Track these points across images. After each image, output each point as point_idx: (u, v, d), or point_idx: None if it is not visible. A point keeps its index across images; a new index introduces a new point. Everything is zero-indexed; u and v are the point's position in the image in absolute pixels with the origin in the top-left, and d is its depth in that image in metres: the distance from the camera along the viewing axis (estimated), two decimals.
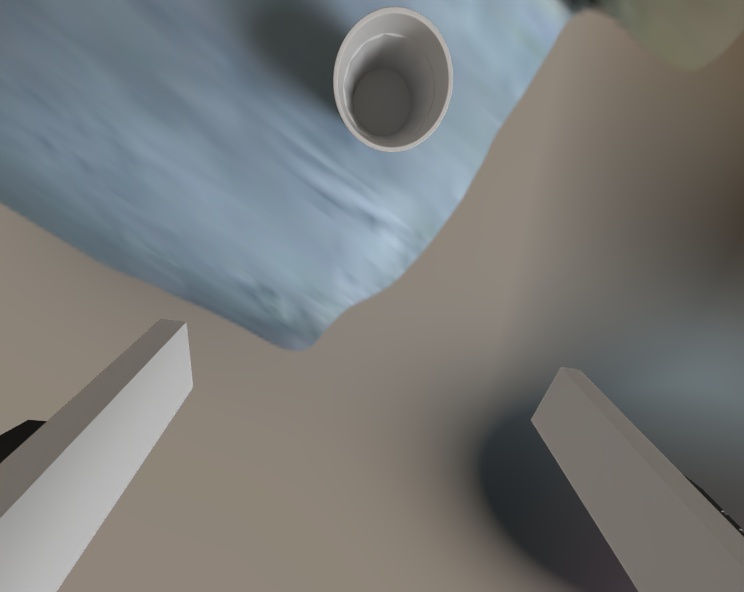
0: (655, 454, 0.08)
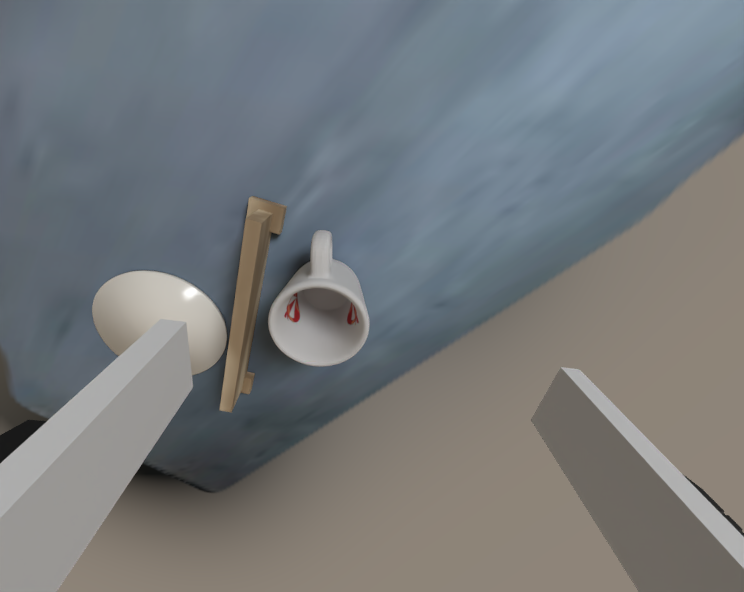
0: (656, 454, 0.08)
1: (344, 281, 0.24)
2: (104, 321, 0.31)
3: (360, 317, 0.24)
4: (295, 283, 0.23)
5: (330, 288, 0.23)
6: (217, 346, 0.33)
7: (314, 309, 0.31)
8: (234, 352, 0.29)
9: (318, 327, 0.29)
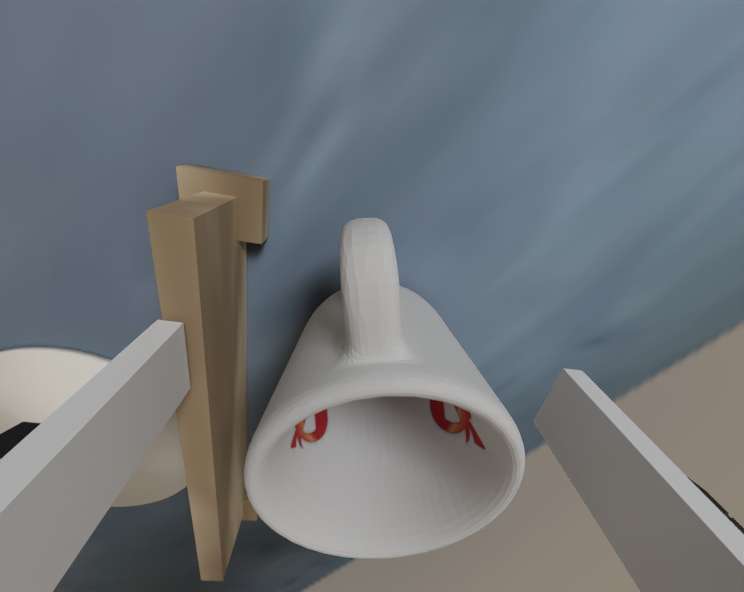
0: (659, 456, 0.08)
1: (444, 355, 0.08)
2: None
3: (499, 448, 0.09)
4: (306, 388, 0.07)
5: (418, 395, 0.07)
6: None
7: None
8: (203, 498, 0.14)
9: (369, 430, 0.14)
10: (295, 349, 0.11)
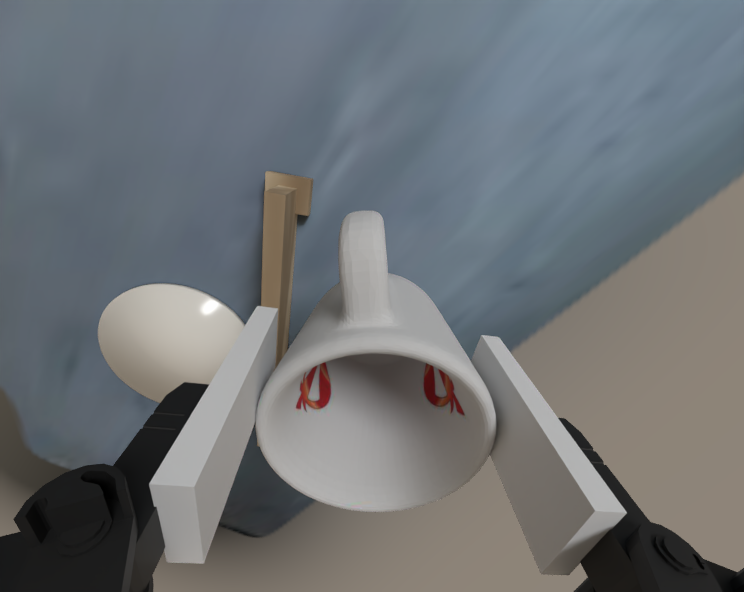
0: (539, 400, 0.09)
1: (426, 326, 0.10)
2: (114, 351, 0.26)
3: (473, 410, 0.10)
4: (308, 345, 0.09)
5: (398, 353, 0.08)
6: None
7: (356, 366, 0.17)
8: None
9: (369, 406, 0.15)
10: (303, 325, 0.13)
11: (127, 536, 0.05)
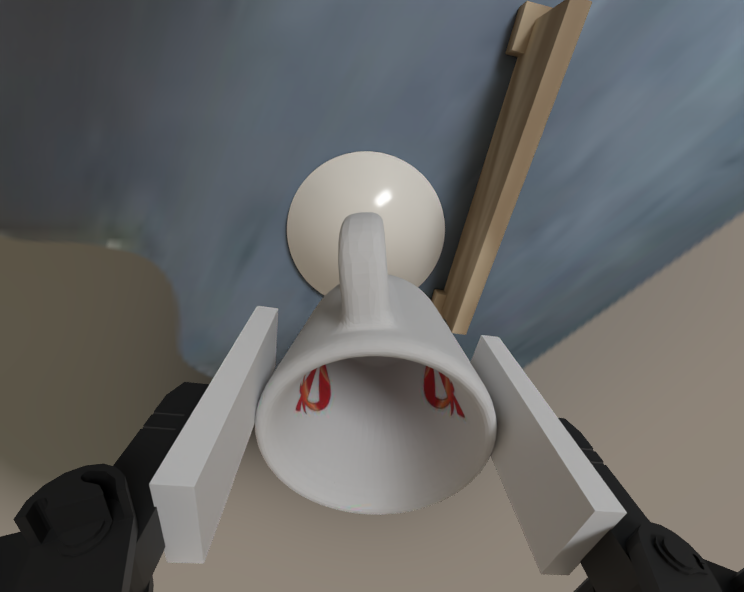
0: (539, 400, 0.09)
1: (426, 328, 0.10)
2: (299, 234, 0.25)
3: (474, 412, 0.10)
4: (307, 348, 0.09)
5: (398, 356, 0.08)
6: (430, 256, 0.26)
7: (356, 367, 0.17)
8: (493, 240, 0.22)
9: (369, 407, 0.15)
10: (303, 327, 0.13)
11: (127, 536, 0.05)
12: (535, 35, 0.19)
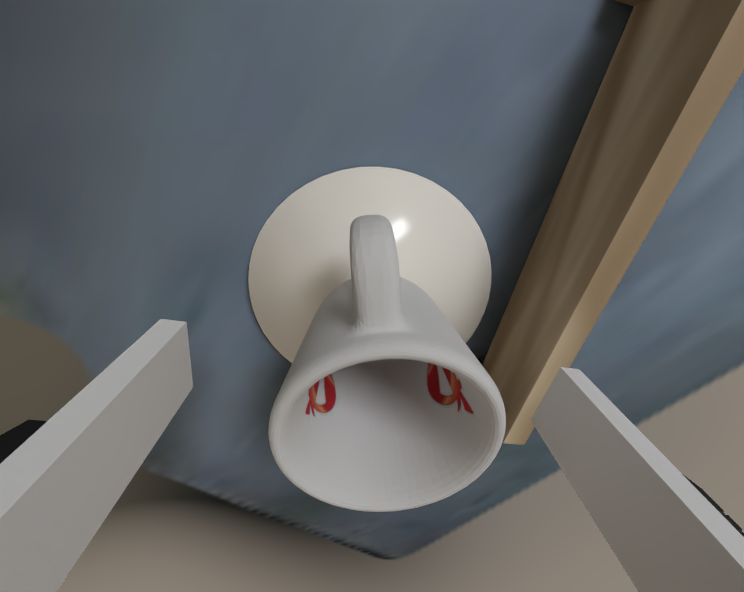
0: (655, 453, 0.08)
1: (437, 329, 0.10)
2: (268, 292, 0.16)
3: (484, 409, 0.10)
4: (322, 353, 0.09)
5: (414, 358, 0.09)
6: (467, 321, 0.18)
7: (358, 367, 0.17)
8: (586, 315, 0.13)
9: (373, 406, 0.15)
10: (308, 330, 0.12)
11: None
12: None
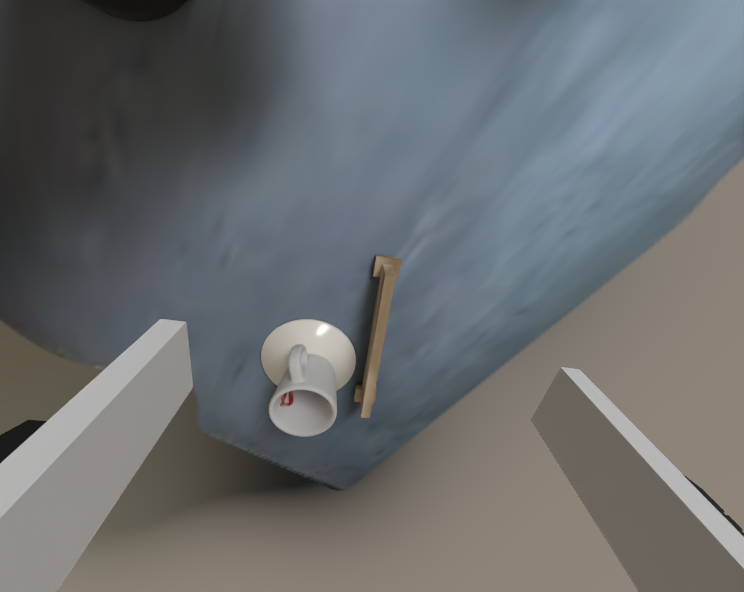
0: (655, 453, 0.08)
1: (314, 380, 0.36)
2: (268, 361, 0.42)
3: (329, 402, 0.36)
4: (281, 388, 0.35)
5: (304, 389, 0.34)
6: (349, 368, 0.43)
7: None
8: (373, 371, 0.38)
9: (308, 403, 0.41)
10: None
11: None
12: (382, 273, 0.36)
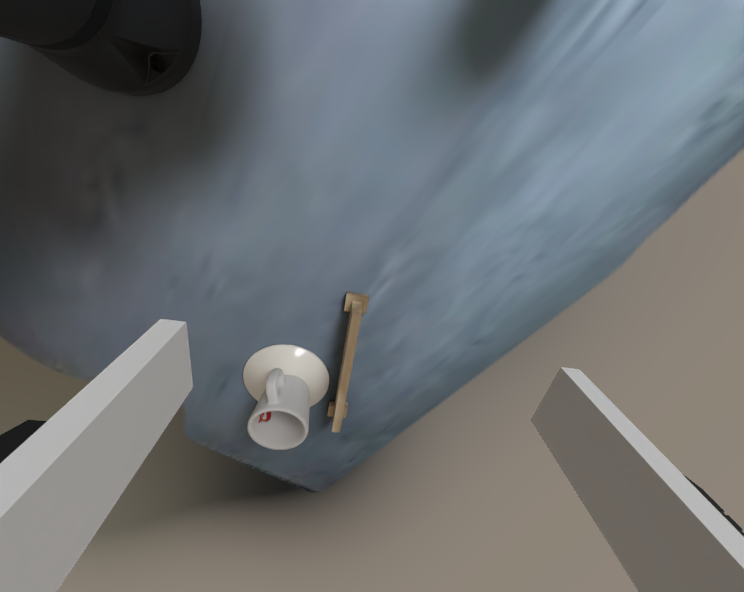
0: (655, 453, 0.08)
1: (288, 402, 0.40)
2: (250, 379, 0.47)
3: (301, 421, 0.41)
4: (259, 409, 0.39)
5: (278, 410, 0.39)
6: (323, 387, 0.48)
7: None
8: (342, 393, 0.43)
9: (284, 419, 0.46)
10: (260, 398, 0.43)
11: None
12: (351, 309, 0.41)
